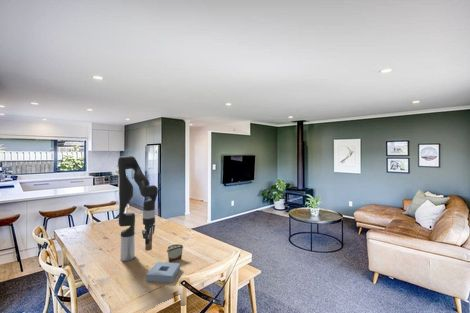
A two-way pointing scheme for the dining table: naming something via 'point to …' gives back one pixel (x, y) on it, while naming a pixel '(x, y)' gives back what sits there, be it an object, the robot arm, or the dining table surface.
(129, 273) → the dining table surface
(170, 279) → the socket block
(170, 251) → the food container
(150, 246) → the walnut peg
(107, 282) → the dining table surface
